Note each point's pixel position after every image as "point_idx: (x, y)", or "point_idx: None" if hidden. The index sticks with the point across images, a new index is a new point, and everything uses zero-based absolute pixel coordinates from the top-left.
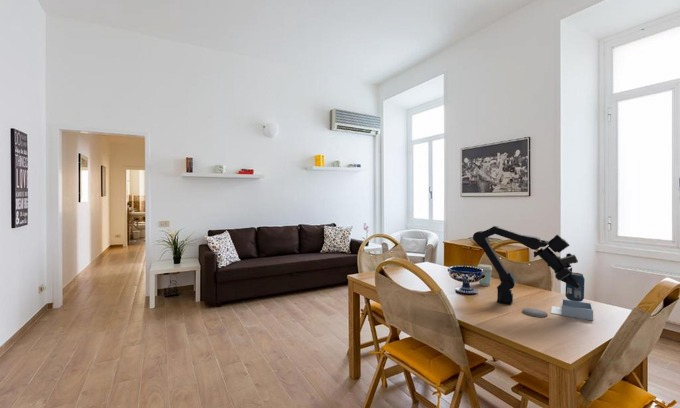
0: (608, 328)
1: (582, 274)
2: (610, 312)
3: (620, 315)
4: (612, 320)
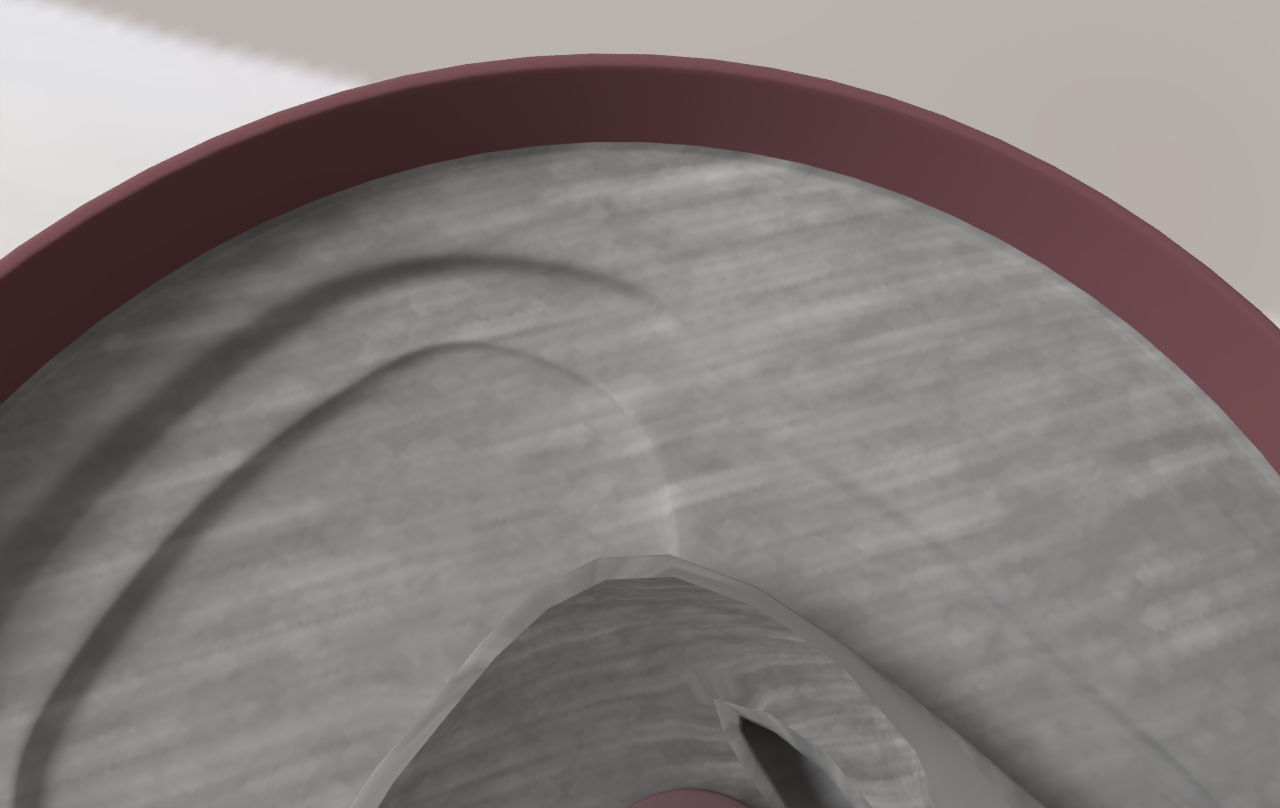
0: None
1: (485, 84)
2: (72, 160)
3: (188, 60)
4: None
